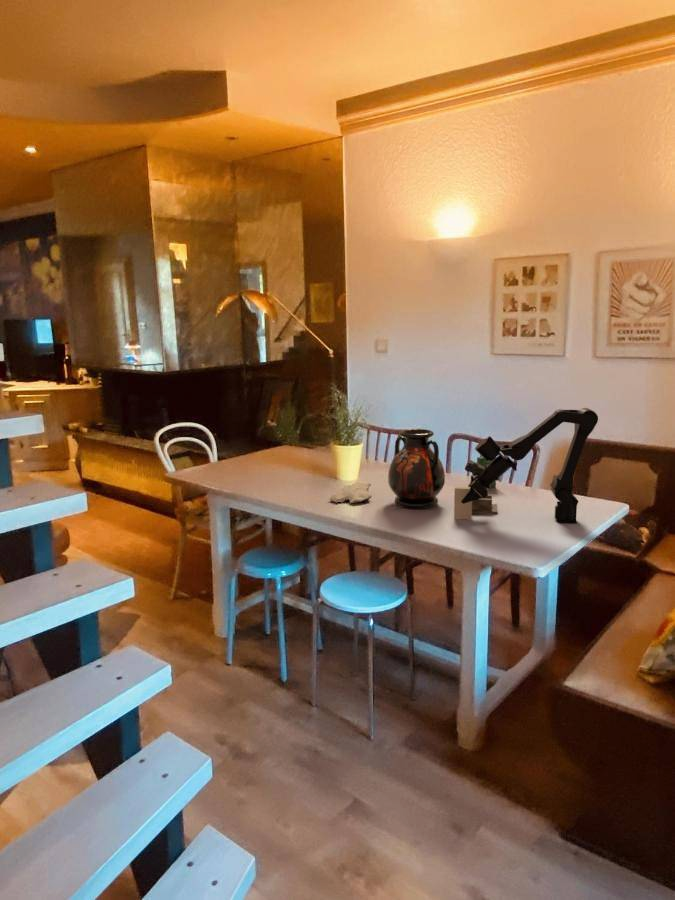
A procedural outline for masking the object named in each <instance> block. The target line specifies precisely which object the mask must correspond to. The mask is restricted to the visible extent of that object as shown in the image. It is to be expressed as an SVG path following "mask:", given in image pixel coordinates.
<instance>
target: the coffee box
mask: <svg viewBox="0 0 675 900" xmlns="http://www.w3.org/2000/svg"><path fill="white" fill-rule="evenodd" d="M497 457H498V456H497ZM497 457H496V458H497ZM493 460H494V459H493ZM493 460H492V461H493ZM492 461H491V460H487V461H486V460H485V459H484V458H483V457H482V456H480V457H479V456H478V457H477V458H476V463H478V464H480V465H482V466H483V467H484V466H485V465H487V464H488V465H489V464H490V463H491V462H492ZM496 483H497V480H496V481H495V482H494V483H493V484H491V485H490V488H489V489H496V487H497V484H496Z"/></svg>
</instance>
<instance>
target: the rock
mask: <svg viewBox="0 0 675 900" xmlns="http://www.w3.org/2000/svg"><path fill="white" fill-rule="evenodd" d="M371 485H372V484H371V483H370V482H365V481H360V480H356V482H355V483H352V484H349V485H347V484H346V485H343V486H341V488H338V489H337V490H336V492H335V493H333V494H332V495H331V496H330V497H329V499H328V500H329V501H331V502H335V503H337V502H341V503H343V502H345V501H349V503H350V504H351V503H353V504H356V503H360V502H365V501H367V500H369V499H371V498H373V497H372V494H371V493H369V489H370V487H371Z"/></svg>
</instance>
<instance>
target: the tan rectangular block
mask: <svg viewBox="0 0 675 900" xmlns="http://www.w3.org/2000/svg"><path fill="white" fill-rule="evenodd" d="M469 491H470V487H468V486H462V485H461V486H458V485H457V486H456V485H455V486H454V496H453V497H454V499H453V501H454V502H453V505H454V507H453V513H454V514H453V515H454V516H453V519H454V518H455V519H457V520H472V516H473V515H472V514H473V513H472V501H471V502H467V503H464V504H463V503H462V502H461V501H462V499H463V498H464V497H465V496H466V494H467V493H468V492H469ZM455 519H454V520H455Z"/></svg>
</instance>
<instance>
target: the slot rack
mask: <svg viewBox="0 0 675 900" xmlns="http://www.w3.org/2000/svg"><path fill="white" fill-rule="evenodd" d="M492 496H493V495H492V494H488V495H487V496H486V497H485V498H482V499H477V500H474V501H472V514H486V515H488V514H490V515H498V504H497V503H493V497H492Z"/></svg>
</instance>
